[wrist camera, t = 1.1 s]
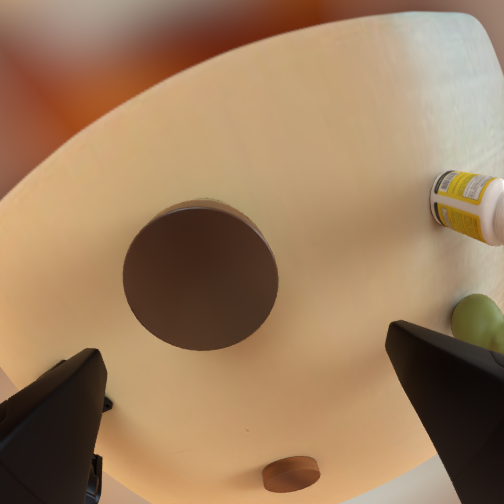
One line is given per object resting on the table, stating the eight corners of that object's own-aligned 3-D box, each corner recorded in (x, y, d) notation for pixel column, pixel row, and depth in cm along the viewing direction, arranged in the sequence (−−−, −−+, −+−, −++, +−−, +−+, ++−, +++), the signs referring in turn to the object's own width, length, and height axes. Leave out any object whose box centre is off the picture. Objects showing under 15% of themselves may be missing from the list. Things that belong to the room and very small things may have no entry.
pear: (437, 339, 25) (494, 397, 16) (444, 295, 23) (514, 350, 14) (472, 321, 25) (529, 369, 16) (480, 279, 24) (547, 323, 14)
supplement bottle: (461, 227, 21) (530, 257, 13) (424, 224, 21) (500, 258, 13) (467, 173, 20) (541, 190, 12) (431, 165, 19) (512, 179, 11)
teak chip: (279, 485, 31) (281, 496, 29) (251, 470, 29) (252, 483, 27) (325, 466, 30) (329, 477, 28) (301, 450, 28) (305, 463, 26)
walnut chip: (190, 349, 16) (188, 372, 14) (107, 254, 14) (93, 269, 12) (296, 283, 15) (306, 301, 14) (217, 170, 13) (217, 172, 11)
